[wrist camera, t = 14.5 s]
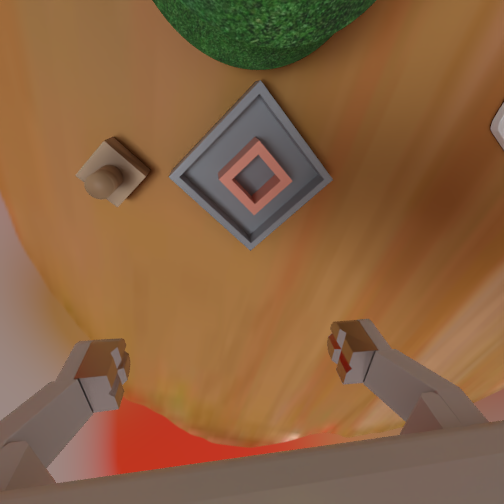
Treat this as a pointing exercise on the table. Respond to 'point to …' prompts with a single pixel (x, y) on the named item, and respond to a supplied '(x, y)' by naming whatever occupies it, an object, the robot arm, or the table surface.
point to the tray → (251, 167)
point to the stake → (112, 172)
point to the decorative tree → (259, 27)
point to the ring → (268, 189)
